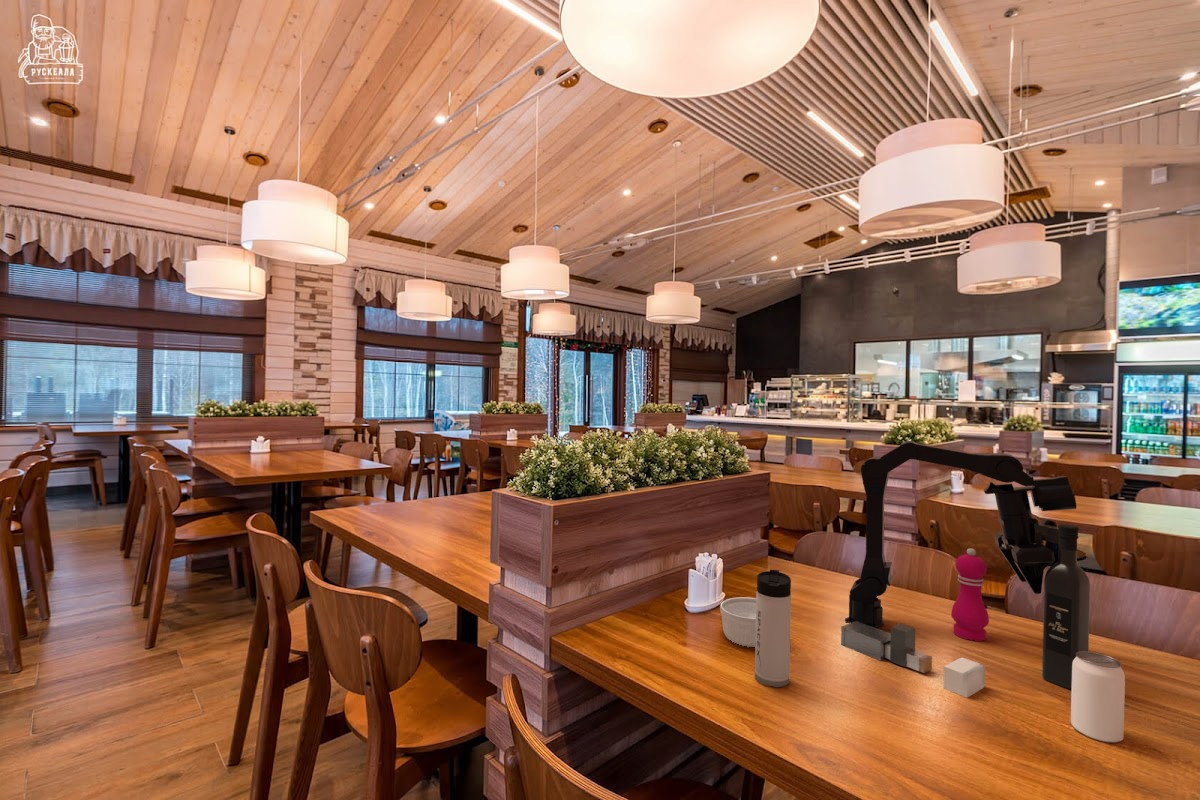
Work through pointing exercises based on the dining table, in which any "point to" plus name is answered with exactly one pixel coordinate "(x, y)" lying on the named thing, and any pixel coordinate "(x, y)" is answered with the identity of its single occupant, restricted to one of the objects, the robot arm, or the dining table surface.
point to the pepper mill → (970, 598)
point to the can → (1098, 697)
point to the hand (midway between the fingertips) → (1030, 587)
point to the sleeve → (864, 639)
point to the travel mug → (773, 628)
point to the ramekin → (739, 620)
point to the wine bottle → (1065, 611)
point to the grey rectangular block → (964, 677)
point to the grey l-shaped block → (906, 649)
